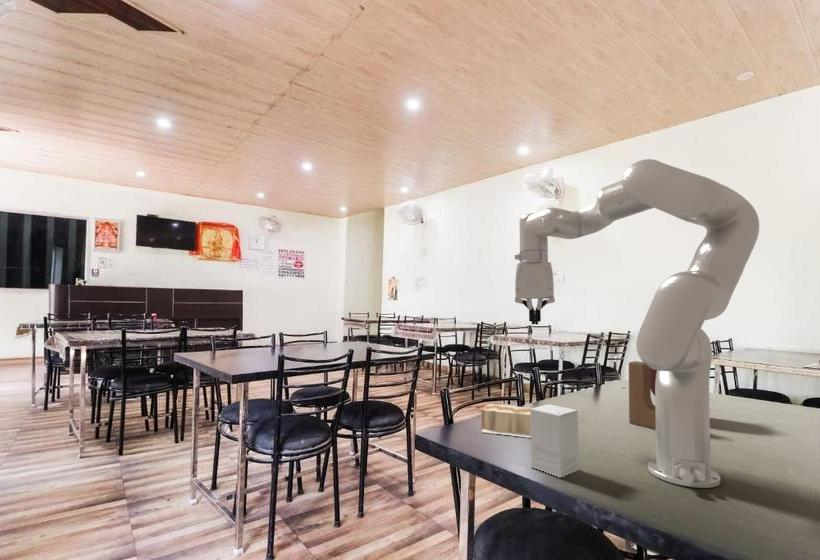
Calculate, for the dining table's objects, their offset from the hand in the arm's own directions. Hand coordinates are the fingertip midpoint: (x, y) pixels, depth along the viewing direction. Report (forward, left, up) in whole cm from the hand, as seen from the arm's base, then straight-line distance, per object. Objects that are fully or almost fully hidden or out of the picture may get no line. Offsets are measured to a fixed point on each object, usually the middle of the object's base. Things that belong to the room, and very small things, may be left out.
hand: (535, 324), depth 118 cm
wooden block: (+19, -30, -30) cm, 46 cm away
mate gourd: (+33, -40, -30) cm, 60 cm away
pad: (+1, +7, -29) cm, 30 cm away
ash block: (+1, -2, -27) cm, 27 cm away
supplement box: (-25, -5, -30) cm, 39 cm away
